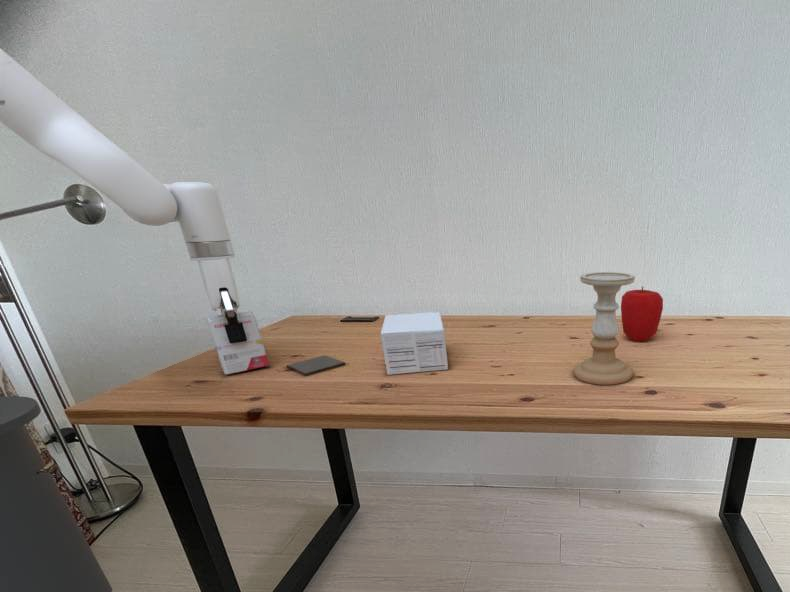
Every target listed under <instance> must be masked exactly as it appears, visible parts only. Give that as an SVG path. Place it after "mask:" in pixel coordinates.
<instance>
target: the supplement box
mask: <svg viewBox="0 0 790 592" xmlns="http://www.w3.org/2000/svg"><path fill="white" fill-rule="evenodd" d="M442 319H443V318H442V313H441V311H429V312H428V311H427V312H416V313H399V314H386V315H385V316H384V320H383V322H382V323H383V324H382V327H381V330H380V341H381V349H382V353H383V359H384V363H385V369H386V375H387V376H391V375H401V374H412V373H423V372H435V371H445V370H449V361H448V352H447V351H448V350H447V343H446V333H445V328H444V324H443V320H442Z"/></svg>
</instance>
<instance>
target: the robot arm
mask: <svg viewBox="0 0 790 592" xmlns="http://www.w3.org/2000/svg"><path fill="white" fill-rule="evenodd" d="M0 123H1V124H3V125H4V126H5V127H7V128H8V129H9V130H11V131H12V133H14V134H15V135H17V136H18V137H20V138H21V139H22V140H23V141H25V142H26V143H27V144H29V145H30V146H32V147H33V148H35V149H36V150H37V151H39V152H40V153H42V154H43V155H45V156H47V157H49V158H50V159H52V160H54V161H55V162H58V163H59V164H61V165H63V166H64V167H66V169H69V170H70V171H71V172H73V173H74V174H76V175H77V176H78V177H79V178H81V179H83V180H84V181H85V182H86V183H88V184H89V185H90V186H92V187H93V188H94V189H96V190H97V191H99V192H100V193H101V194H102V195H104V196H105V197H106V198H107V199H109V200H110V202H113V203H114V204H115V205H117V206H118V207H119V208H120V209H121V210H122V211H123V213H125V215H126V216H128V217H129V218H130V219H131V220H133V221H135V222H137V223H139V224H142V225H147V226H153V227H158V226H159V227H160V226H164V225H167V224H169V223H176V222H178V224H179V227H180V230H181V234H182V236H183V239H184V242H185V245H186V249H187V252H188V255H189V259H190V261H197V264H198V268H199V272H200V275H201V276H200V277H201V279H202V283H203V285H204V289H205V291H206V295H207V298H208V302H209V304H210V307H211V310H212V311H213V312H217V309H219V310H220V313H221V314H222V315H223V318H224V321H225V324H224V326H225V330H226V333H227V336H228V340H229V342H230V343H231V344H232V343H239V342H245V341H247V338H246V334H245V331H244V327H243V324H242V322H241V321H240V318H239V314H238V313H239V311H238V309H239V308H240V307H241V305H240V298H239V293H238V288H237V283H236V280H235V276H234V272H233V269H232V265H231V262H230V259H233V258H236V254H235V251H234V247H233V243H232V240H231V235H230V233H229V228H228V225H227V222H226V218H225V215H224V210H223V207H222V203H221V200H220V197H219V193H218V191H217V188H216V187H215V186H214V185H213V184H212V183H209V182H203V181H176V182H172V183H162V182H161V181H160V180H158V179H157V177H155V176H154V175H153V174H151V173H150V172H149V171H148V170H147V169H145V168H144V167H143V166H142V165H141V164H139V163H138V162H137V161H136V160H135V159H134V158H133V157H131V156H130V155H129V154H128V153H127V152H125V151H124V150H123V149H122V148H120V147H119V146H118V145H116V144H115V143H114V142H113V141H112V140H111V139H109V138H108V137H106V136H105V135H104V134H103V133H102V132H100V130H98V129H97V128H95V127H94V126H93V125H92V124H91V123H90V122H89V121H88V120H87V119H86V118H84V117H83V116H82V115H81V114H79V113H78V112H77V111H76V110H75V109H73V108H72V107H71V106H70V105H69V104H68V103H66V102H65V101H64V100H62V99H61V98H60V97H59V96H57V95H56V94H55V93H54V92H53V91H52V90H51V89H49V88H48V87H47V86H46V85H45V84H44V83H42V82H41V81H40V80H39V79H37V78H36V77H35V76H34V75H33V74H32V73H30V72H29V71H28V70H27V69H26V68H24V67H23V66H22V65H21V64H20V63H19V62H17V61H16V60H15V59H14V58H13V57H11V56H10V55H9V54H8V53H7V52H5V50H3V49H2V48H1V47H0Z"/></svg>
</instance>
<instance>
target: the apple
mask: <svg viewBox="0 0 790 592" xmlns="http://www.w3.org/2000/svg"><path fill="white" fill-rule="evenodd" d="M663 310H664V298H663V297H662V295H661V294H660V292H657V291H654V290H648V289H644V286H642V287H641V289H632V290H627V291H625V292H624V294H622V295H621V302H620V312H621V313H620V315H621V325H622V332H623V333H624V335H625V336H626V337H627V339H628V340H630V341H632V342H636V343H637V342H638V343H641V342H642V343H643V342H647V341H648V340H650V339H651V338H652V337H653V336H655V335H656V334H657V332H658V328H659V326H660V321H661V318H662V313H663Z"/></svg>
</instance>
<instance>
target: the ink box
mask: <svg viewBox="0 0 790 592" xmlns="http://www.w3.org/2000/svg"><path fill="white" fill-rule="evenodd" d="M238 314H239V318H240V321H241V322H242V324H243V327H244V331H245V334H246V338H247V341H245V342H239V343H232V344H231V343H230V342H229V340H228V336H227V333H226V330H225V326H224V324H225V321H224V318H223V315H221V314H217V315H218V316H216V315H211V316H206V318H205V320H206V322H207V323H206V324H207V326H208V329H209V333H210V335H211V338H212V342H213V345H214V347H215V351H216V354H217V356H218V360H219V364H220V366H221V369H222V371H223V374H224V375H231V374H235V373H240V372H241V373H242V372H245V371H249V370H250V371H251V370H254V369H260V368H264V367H270V363H269V359H268V357H267V356H268V355H267V353H266V349H265V345H264V342H263V338H262V335H261V332H260V329H259V325H258V321H257V318H256V315H255V314H254V313H253V312H252V311H243V312H238Z"/></svg>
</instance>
